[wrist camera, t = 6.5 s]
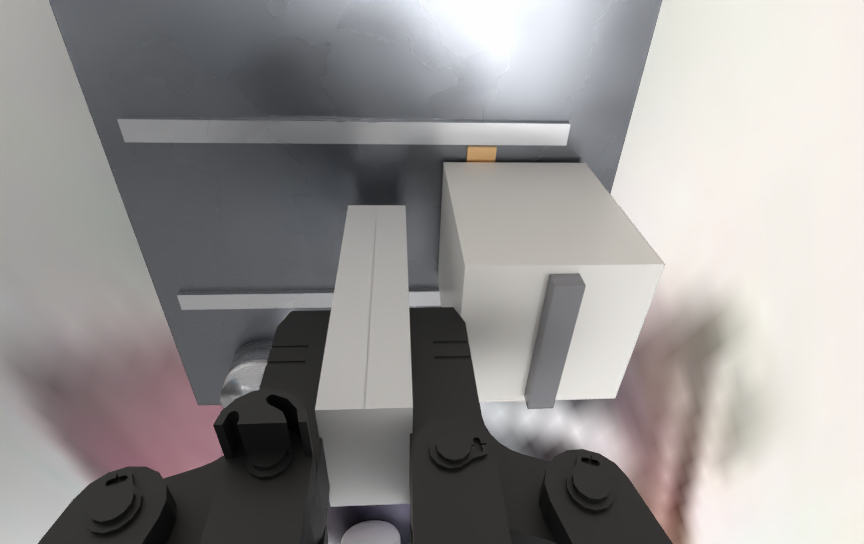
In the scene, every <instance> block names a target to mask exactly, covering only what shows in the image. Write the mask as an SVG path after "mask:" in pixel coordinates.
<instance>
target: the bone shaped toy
mask: <svg viewBox="0 0 864 544" xmlns="http://www.w3.org/2000/svg"><path fill="white" fill-rule="evenodd" d="M400 542H401V540H400V534H399V532H398V530H397V529H396V528H395V527H394V526H393V525H392V524H390V523H388V522H385V521H379V520H371V521H365V522H361V523H358V524H356V525H354V526H352V527H351V528H349V529H348V530H347V531H346V532H345V534H344V535H343V537H342V540H341V544H401V543H400Z"/></svg>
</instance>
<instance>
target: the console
mask: <svg viewBox="0 0 864 544" xmlns="http://www.w3.org/2000/svg"><path fill="white" fill-rule="evenodd" d="M49 2H50V5H51V7H52V10H53V13H54V16H55V18H56V21H57V24H58V26H59V29H60V32H61V35H62V37H63V40H64V43H65V45H66V48H67V51H68V54H69V56H70V59H71V62H72V64H73V67H74V70H75V73H76V75H77V78H78V81H79V83H80V86H81V89H82V92H83V94H84V97H85V100H86V102H87V105H88V108H89V111H90V113H91V116H92V119H93V121H94V124H95V127H96V130H97V132H98V135H99V138H100V140H101V143H102V146H103V149H104V151H105V154H106V157H107V159H108V162H109V165H110V168H111V170H112V173H113V176H114V178H115V181H116V184H117V187H118V189H119V192H120V195H121V197H122V200H123V203H124V206H125V208H126V211H127V214H128V216H129V219H130V222H131V225H132V227H133V230H134V233H135V235H136V238H137V241H138V244H139V246H140V249H141V252H142V254H143V257H144V260H145V263H146V265H147V268H148V271H149V273H150V276H151V279H152V282H153V284H154V287H155V290H156V292H157V295H158V298H159V300H160V303H161V306H162V309H163V311H164V314H165V317H166V319H167V322H168V325H169V328H170V330H171V333H172V336H173V338H174V341H175V344H176V347H177V349H178V352H179V355H180V357H181V360H182V363H183V366H184V368H185V371H186V374H187V376H188V379H189V382H190V385H191V387H192V390H193V393H194V395H195V398H196V401H197V404H198V405H222V407H223V408H226V407H227V406H228V405H229V404H230V403H231V402H233V401H234V400H235V399H236V398H239V397H241V396H243V395H245V394H247V393H249V392H251V391H256V390H259V388H260V384H261V381H262V377H263V374H264V370H265V367H266V365H267V360H268V356H269V353H270V350H271V349H272V342H273V339H274V336H275V332H276V329H277V327H278V325H279V324H280V323H281V322H282V321H283V320H284V319H285V317H286V316H287V315H288V314H289V313H290V312H291V311H316V310H331V308H332V302H333V295H334V289H335V283H336V277H337V271H338V265H339V258H340V252H341V246H342V240H343V234H344V228H345V221H346V215H347V209H348V205H405V207H406V234H407V261H408V288H409V308H425V307H441V302H440V294H439V286H438V262H439V242H440V222H441V201H442V181H443V162H505V163H586V164H587V166H588V167H589V168H590V169H591V171H592V172H593V173H594V175H595V176H596V177H597V178H598V180H599V181H600V182H601V183H602V185H603V186H604V187H605V189H606V190H607V191H608V192H609V194H610V193H611V189H612V186H613V182H614V178H615V174H616V171H617V167H618V163H619V159H620V156H621V152H622V148H623V144H624V141H625V137H626V133H627V129H628V126H629V122H630V118H631V115H632V111H633V107H634V103H635V100H636V96H637V92H638V88H639V85H640V81H641V77H642V73H643V70H644V66H645V62H646V59H647V55H648V51H649V47H650V44H651V40H652V36H653V32H654V29H655V25H656V21H657V17H658V14H659V10H660V6H661V3H662V0H49Z"/></svg>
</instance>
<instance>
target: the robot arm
mask: <svg viewBox="0 0 864 544" xmlns="http://www.w3.org/2000/svg"><path fill="white" fill-rule="evenodd" d="M214 428H215V431H216V434H217V437H218V439H219V442H220V445H221V448H222V451H223V453H224V456H222V457H221V458H219V459H217V460H216V461H214V462H212V463H209V464H207V465H204V466H202V467H199V468H196V469H193V470H190V471H187V472H184V473H180V474H177V475H174V476H171V477H168V478H165V479H163V478H162V477H161V475H160V473H159V472H156V471H154V470H152V469H150V468H148V467H126V468H122V469H119V470H116V471H112V472H109V473H107V474H106V475H104V476H102V477H101V478H99V479H97V480H96V481H94V482H92V483H90V484H89V485H88V486H87V487H86V488H85V489H84V490H83V491H82V492H81V493H80V494H79V495H78V496H77V497H76V498H75V499H74V500H73V501H72V502H71V503H70V504H69V506H68V507H67V508H66V509H65V511H64V512H63V513H62V514H61V516H60V517H59V518H58V519H57V520H56V522H55V523H54V524H53V525H52V527H51V528H50V529H49V530H48V532H47V533H46V534H45V535H44V537H43V538H42V539H41V540H40V541H39V543H38V544H328V533H327V525H326V517H327V508H328V499H329V500H330V507H337V506H361V505H386V504H410V544H673V543H672V542H671V540H670V539H669V537H668V536H667V535H666V533H665V532H664V530H663V529H662V527H661V526H660V524H659V523H658V521H657V520H656V518H655V517H654V515H653V514H652V512H651V511H650V509H649V508H648V506H647V505H646V504H645V502H644V501H643V499H642V498H641V496H640V495H639V493H638V492H637V490H636V489H635V487H634V486H633V484H632V483H631V481H630V480H629V478H628V477H627V476H626V475H625V474H624V473H623V471H622V470H621V469H620V468H619V467H618V466H617V465H616V464H615V463H614V462H612V461H610V460H609V459H607V458H606V457H604V456H602V455H601V454H599V453H595V452H591V451H587V450H583V449H580V450H567V451H565V452H563V453H561V454H559V455H557V456H555V457H554V458H553V460H552V461H551V462H549V461H545V460H542V459H538V458H534V457H531V456H527V455H523V454H520V453H518V452H515V451H512V450H510V449H508V448H507V447H505V446H504V445H502V444H500V443H499V442H498V441H497V440H496V439H495V438H494V437H493V436H492V435H491V434H490V433H489V431H488V429H487V428H486V426H485V424H484V421H483V418H482V415H481V409H480V403H479V398H478V392H477V386H476V380H475V375H474V369H473V363H472V360H471V352H470V346H469V340H468V334H467V329H466V323H465V321H464V320H463V319H462V318H461V316H460V315H459V314H458V312H457V311H456V310H455V309H454V307H425V308H409V288H408V261H407V234H406V207H405V205H348V209H347V215H346V221H345V228H344V234H343V240H342V246H341V252H340V258H339V265H338V271H337V277H336V283H335V289H334V295H333V302H332V308H331V310H316V311H291V312H290V313H289V314H288V315H287V316H286V317H285V319H284V320H283V321H282V322H281V323H280V324H279V325H278V327H277V329H276V332H275V336H274V339H273V342H272V349H271V350H270V353H269V356H268V360H267V365H266V367H265V370H264V374H263V377H262V381H261V384H260V388H259V390H256V391H251V392H249V393H247V394H245V395H243V396H241V397H239V398H236V399H235V400H234V401H233V402H231V403H230V404H229V405H228V406H227V407H226V408H224V409H223V410H222V411H221V413H220V415H219V416H218V418H217V420H216V421H215V423H214Z"/></svg>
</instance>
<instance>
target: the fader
mask: <svg viewBox="0 0 864 544" xmlns="http://www.w3.org/2000/svg"><path fill="white" fill-rule="evenodd" d="M664 266H665V264H664V262H663V261H662V260H661V259H660V257H659V256H658V255H657V253H656V252H655V251H654V250H653V248H652V247H651V246H650V245H649V243H648V242H647V241H646V239H645V238H644V237H643V236H642V234H641V233H640V232H639V231H638V229H637V228H636V227H635V225H634V224H633V223H632V222H631V220H630V219H629V218H628V217H627V215H626V214H625V213H624V211H623V210H622V209H621V208H620V206H619V205H618V204H617V203H616V201H615V200H614V199H613V197H612V196H611V195H610V194H609V192H608V191H607V190H606V189H605V187H604V186H603V185H602V183H601V182H600V181H599V180H598V178H597V177H596V176H595V175H594V173H593V172H592V171H591V169H590V168H589V167H588V166H587V164H586V163H505V162H443V181H442V201H441V222H440V242H439V262H438V286H439V294H440V302H441V307H454V309H455V310H456V311H457V312H458V314H459V315H460V316H461V318H462V319H463V320H464V321H465V323H466V329H467V334H468V340H469V346H470V352H471V360H472V363H473V369H474V375H475V380H476V386H477V392H478V398H479V402H508V401H526V404H527V408H528V409H542V408H553V406H554V403H555V400H573V399H606V398H615V397H616V394H617V392H618V389H619V386H620V384H621V381H622V378H623V376H624V373H625V370H626V368H627V365H628V362H629V360H630V357H631V354H632V352H633V349H634V346H635V344H636V341H637V338H638V336H639V333H640V330H641V327H642V325H643V322H644V319H645V317H646V314H647V311H648V309H649V306H650V303H651V301H652V298H653V295H654V293H655V290H656V287H657V285H658V282H659V279H660V277H661V274H662V271H663V269H664Z"/></svg>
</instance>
